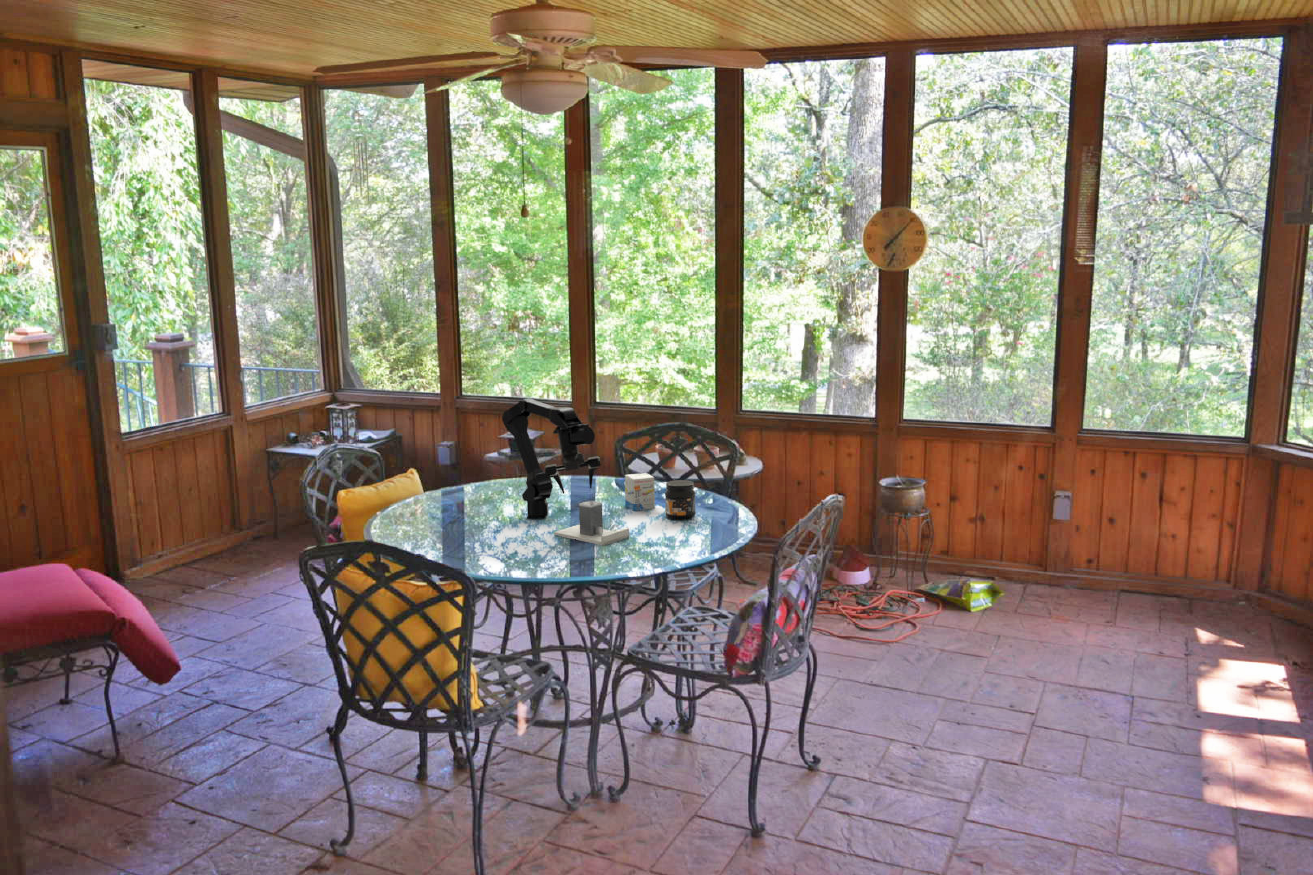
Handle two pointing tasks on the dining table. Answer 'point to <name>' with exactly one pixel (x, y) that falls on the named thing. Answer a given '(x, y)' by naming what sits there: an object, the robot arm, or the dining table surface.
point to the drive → (590, 517)
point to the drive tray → (600, 538)
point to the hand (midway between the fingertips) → (577, 490)
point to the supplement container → (680, 499)
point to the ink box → (639, 491)
